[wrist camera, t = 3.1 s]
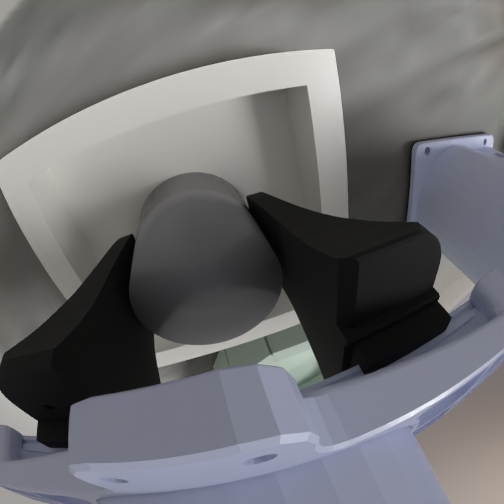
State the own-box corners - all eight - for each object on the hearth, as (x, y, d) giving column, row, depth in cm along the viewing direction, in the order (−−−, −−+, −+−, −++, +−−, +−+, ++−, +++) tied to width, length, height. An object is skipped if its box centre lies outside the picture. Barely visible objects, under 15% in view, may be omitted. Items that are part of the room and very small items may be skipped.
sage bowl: (357, 277, 18) (382, 308, 15) (347, 361, 24) (361, 386, 22) (193, 335, 17) (200, 375, 14) (235, 402, 23) (243, 430, 21)
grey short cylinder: (234, 157, 11) (270, 203, 7) (256, 251, 13) (289, 319, 10) (122, 194, 10) (100, 259, 7) (162, 281, 13) (167, 358, 9)
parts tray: (299, 53, 9) (334, 49, 7) (323, 273, 16) (345, 305, 14) (24, 146, 8) (-9, 166, 6) (131, 335, 15) (130, 373, 13)
